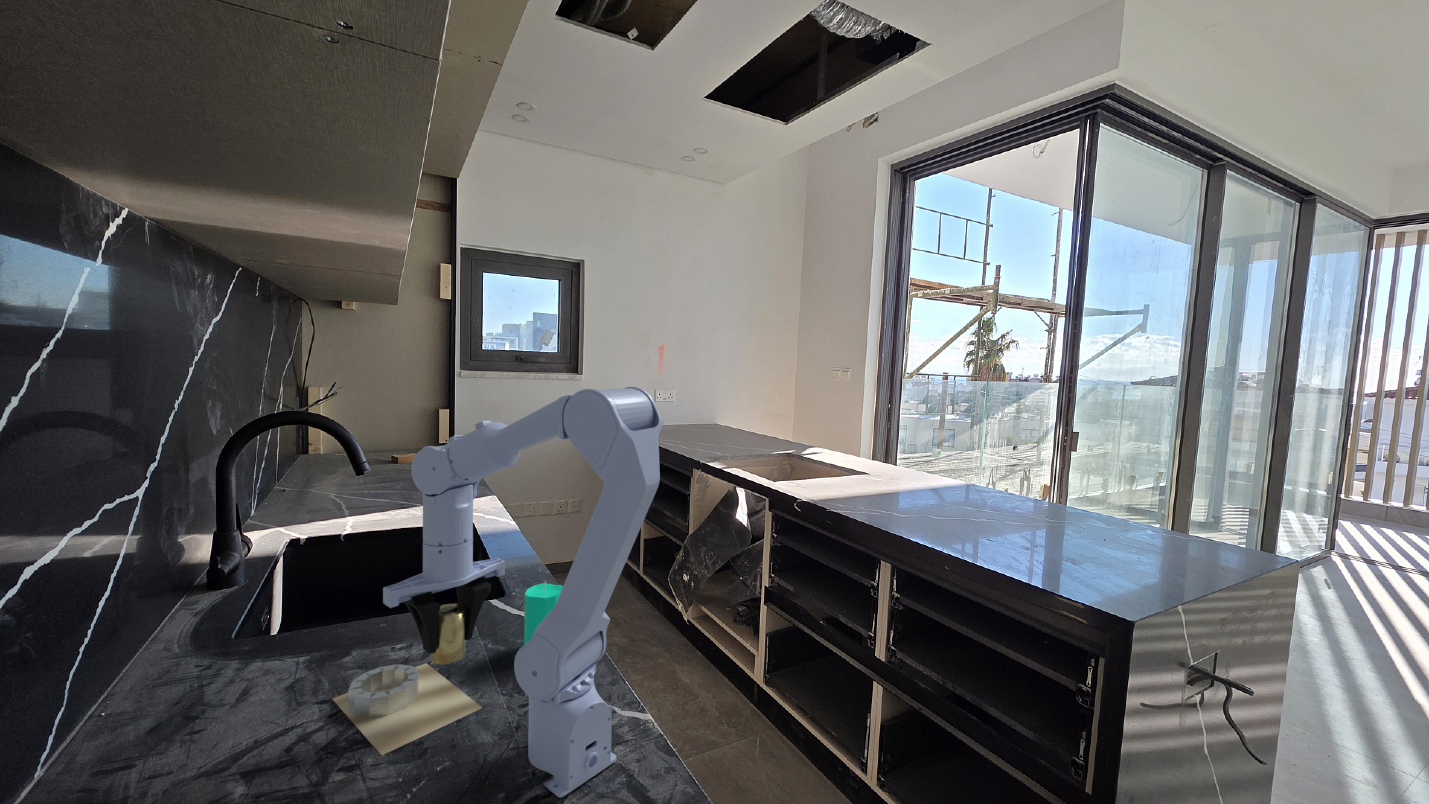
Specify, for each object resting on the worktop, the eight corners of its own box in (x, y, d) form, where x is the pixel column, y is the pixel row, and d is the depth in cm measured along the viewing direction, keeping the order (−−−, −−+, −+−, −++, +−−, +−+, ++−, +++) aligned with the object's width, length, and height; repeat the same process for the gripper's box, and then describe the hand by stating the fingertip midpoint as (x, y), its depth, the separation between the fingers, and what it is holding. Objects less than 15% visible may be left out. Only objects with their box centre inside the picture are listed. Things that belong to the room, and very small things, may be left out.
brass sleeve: (470, 655, 73) (471, 609, 72) (439, 667, 70) (439, 620, 69) (455, 644, 75) (455, 600, 75) (424, 656, 72) (424, 610, 72)
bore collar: (428, 697, 75) (428, 679, 75) (363, 725, 69) (363, 706, 69) (403, 675, 80) (403, 658, 80) (340, 700, 74) (340, 681, 74)
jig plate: (482, 715, 74) (482, 707, 73) (381, 763, 64) (381, 755, 64) (426, 669, 84) (426, 663, 84) (332, 706, 74) (332, 698, 74)
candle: (552, 668, 85) (553, 590, 84) (516, 662, 86) (517, 585, 86) (570, 648, 91) (571, 575, 90) (536, 643, 92) (537, 571, 91)
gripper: (486, 521, 80) (485, 615, 81) (372, 545, 68) (373, 653, 69) (513, 532, 75) (512, 631, 76) (397, 559, 64) (397, 675, 65)
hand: (447, 643), depth 72 cm, fingers closed on brass sleeve, 4 cm apart
